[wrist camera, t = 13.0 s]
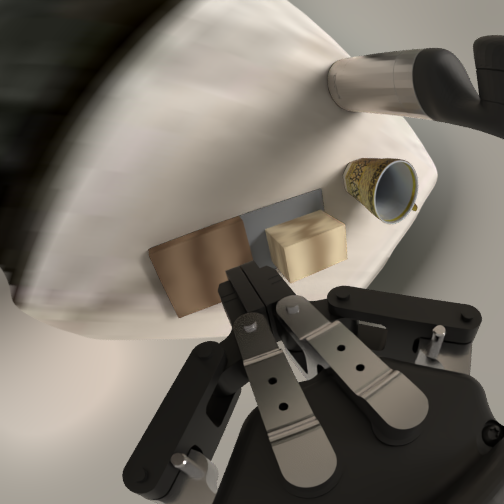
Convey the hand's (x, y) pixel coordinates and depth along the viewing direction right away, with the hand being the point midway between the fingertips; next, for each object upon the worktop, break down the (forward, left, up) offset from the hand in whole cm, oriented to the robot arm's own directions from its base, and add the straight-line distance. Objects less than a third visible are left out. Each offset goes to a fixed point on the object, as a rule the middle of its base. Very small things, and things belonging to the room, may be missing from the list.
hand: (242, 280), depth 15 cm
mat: (-13, +14, -27) cm, 33 cm away
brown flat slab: (+1, +14, -27) cm, 30 cm away
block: (-14, +14, -27) cm, 34 cm away
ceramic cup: (-29, +9, -27) cm, 41 cm away
